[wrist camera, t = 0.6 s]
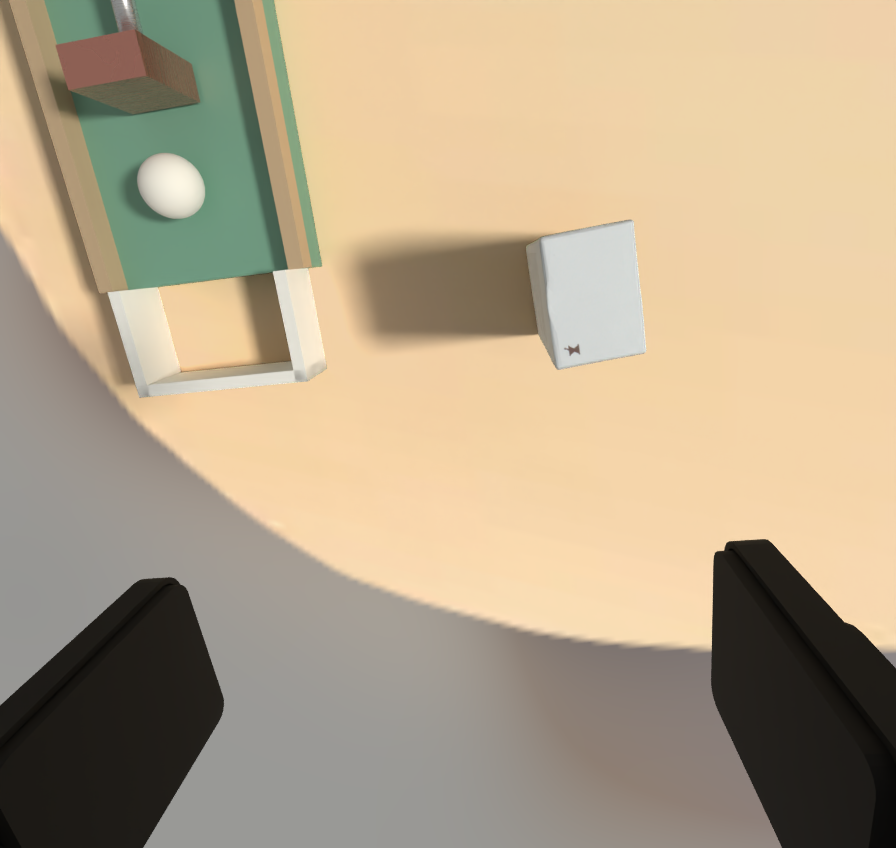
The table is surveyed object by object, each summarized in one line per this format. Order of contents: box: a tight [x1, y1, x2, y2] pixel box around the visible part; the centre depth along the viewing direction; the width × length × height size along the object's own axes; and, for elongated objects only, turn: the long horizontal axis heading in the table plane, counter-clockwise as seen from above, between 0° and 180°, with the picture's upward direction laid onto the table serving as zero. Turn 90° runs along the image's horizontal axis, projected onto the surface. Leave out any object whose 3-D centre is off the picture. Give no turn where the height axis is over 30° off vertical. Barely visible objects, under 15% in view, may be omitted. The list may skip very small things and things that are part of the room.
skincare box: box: [526, 220, 646, 370], centre depth 29 cm, size 6×4×12 cm
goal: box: [108, 268, 327, 398], centre depth 36 cm, size 7×12×4 cm, turn 97°
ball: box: [137, 153, 205, 219], centre depth 31 cm, size 4×4×4 cm
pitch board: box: [9, 0, 322, 294], centre depth 31 cm, size 25×14×4 cm, turn 7°
